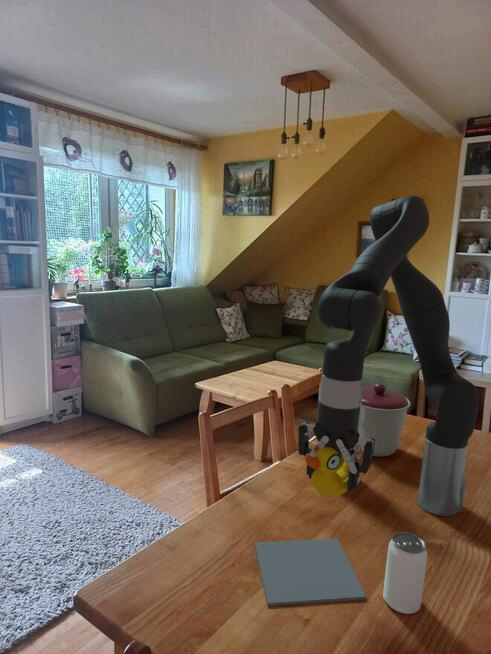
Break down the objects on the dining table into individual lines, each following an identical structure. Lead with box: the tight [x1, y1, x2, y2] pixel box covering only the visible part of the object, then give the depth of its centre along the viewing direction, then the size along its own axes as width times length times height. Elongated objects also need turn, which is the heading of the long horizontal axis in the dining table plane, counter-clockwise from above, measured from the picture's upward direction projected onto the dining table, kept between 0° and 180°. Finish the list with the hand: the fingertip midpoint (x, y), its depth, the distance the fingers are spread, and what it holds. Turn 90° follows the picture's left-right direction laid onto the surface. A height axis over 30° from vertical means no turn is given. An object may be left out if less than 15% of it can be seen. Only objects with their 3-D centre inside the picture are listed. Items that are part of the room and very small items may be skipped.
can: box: [382, 531, 428, 615], centre depth 81 cm, size 6×6×12 cm
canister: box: [361, 382, 411, 458], centre depth 139 cm, size 18×18×21 cm
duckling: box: [304, 446, 350, 498], centre depth 85 cm, size 11×5×10 cm, turn 112°
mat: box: [254, 538, 367, 607], centre depth 89 cm, size 18×16×1 cm
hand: (331, 482), depth 86 cm, fingers closed on duckling, 7 cm apart
